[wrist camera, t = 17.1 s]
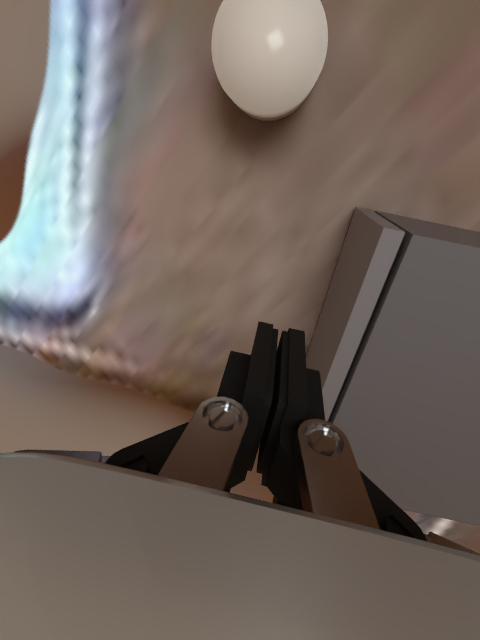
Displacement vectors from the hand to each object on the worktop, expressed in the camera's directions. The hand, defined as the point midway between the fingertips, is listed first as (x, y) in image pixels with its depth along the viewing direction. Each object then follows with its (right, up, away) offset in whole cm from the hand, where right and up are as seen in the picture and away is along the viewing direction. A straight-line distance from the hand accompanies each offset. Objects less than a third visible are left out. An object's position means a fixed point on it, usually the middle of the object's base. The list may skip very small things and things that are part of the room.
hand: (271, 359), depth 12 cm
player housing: (+13, -1, +13) cm, 18 cm away
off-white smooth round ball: (0, +15, +6) cm, 16 cm away
